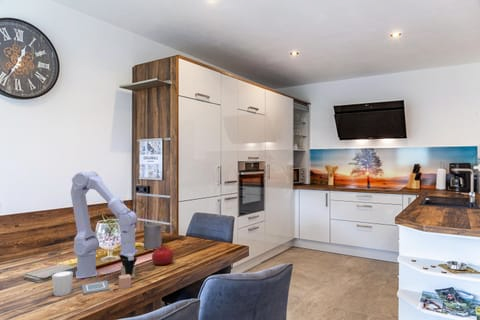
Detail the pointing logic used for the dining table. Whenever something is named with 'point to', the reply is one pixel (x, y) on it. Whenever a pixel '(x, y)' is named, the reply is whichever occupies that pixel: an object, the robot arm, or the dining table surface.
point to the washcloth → (48, 273)
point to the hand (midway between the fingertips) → (127, 273)
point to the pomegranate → (162, 256)
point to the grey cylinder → (62, 283)
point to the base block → (125, 272)
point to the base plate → (95, 287)
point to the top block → (125, 281)
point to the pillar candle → (152, 235)
